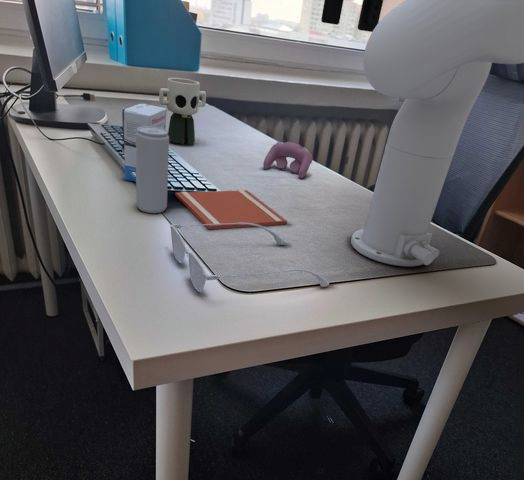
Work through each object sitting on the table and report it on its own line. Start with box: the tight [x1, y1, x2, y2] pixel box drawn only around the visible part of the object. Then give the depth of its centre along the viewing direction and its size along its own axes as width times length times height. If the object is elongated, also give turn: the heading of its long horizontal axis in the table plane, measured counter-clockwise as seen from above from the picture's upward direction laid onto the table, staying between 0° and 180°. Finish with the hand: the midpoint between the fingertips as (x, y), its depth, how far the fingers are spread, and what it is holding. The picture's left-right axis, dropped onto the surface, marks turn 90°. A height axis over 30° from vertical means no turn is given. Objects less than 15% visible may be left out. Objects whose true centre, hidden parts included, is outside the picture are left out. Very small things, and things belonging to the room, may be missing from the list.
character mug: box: [158, 77, 207, 145], centre depth 115 cm, size 11×7×13 cm, turn 117°
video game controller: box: [262, 141, 314, 179], centre depth 110 cm, size 10×5×7 cm, turn 65°
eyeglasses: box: [169, 223, 330, 293], centre depth 68 cm, size 15×18×4 cm
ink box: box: [123, 103, 168, 183], centre depth 92 cm, size 8×5×12 cm, turn 168°
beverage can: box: [135, 126, 170, 214], centre depth 79 cm, size 5×5×12 cm
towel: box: [174, 189, 288, 230], centre depth 87 cm, size 15×14×1 cm
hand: (347, 27), depth 79 cm, fingers open, 9 cm apart
